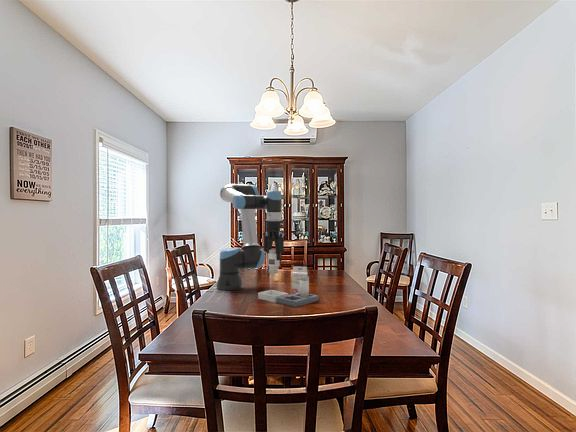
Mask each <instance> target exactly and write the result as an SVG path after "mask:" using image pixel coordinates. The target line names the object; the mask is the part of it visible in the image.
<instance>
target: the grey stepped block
mask: <svg viewBox="0 0 576 432" xmlns="http://www.w3.org/2000/svg"><path fill="white" fill-rule="evenodd" d="M308 275H309V273H308V266H294V265H293V268H292V273H291V294H295V293H299V292H300V276H308Z"/></svg>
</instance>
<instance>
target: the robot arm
mask: <svg viewBox="0 0 576 432" xmlns="http://www.w3.org/2000/svg"><path fill="white" fill-rule="evenodd" d="M219 195H220V198H221V199H222V200H223V201H224V202H227V203H231V204H232V206H233V208H234V209H236V210H240V216H241V217H240V219H241V229H242V240H243V241H242V243H243V245H242V246H241V248H240V247H229V248H225V249H221V251H220V252H219V259H218V260H219V276H218V279H217V283H216V289H217V290H220V291H236V290H241V289H242V288H243V281H242V278H241V276H240V270H256V269H260V268H262V267H263V265H264V263H265V259H267V266H268V267H269V250H270V249H272V248H273V242H274V247H275V249H276V253H275V267H278V268H279V267H280V263H281V261H280V260H281V254H282V253H284V252H285V250H284V248H285V235H286V234H285V232H283V233H282V232H281V228H282V222H281V220H282V192H281V191H280V190H267V192H266V195H260V193H259V190H258V186H256V185H254V184H249V183H248V184H247V183H246V184H245V183H242V184H241V183H228V184H226V185H224V186H223V187H222V188H220V192H219ZM255 210H263V211H265V210H266V220H267V221H266V231H265V232H263V234H262V235H263V249H262V248H261V245H260V244H259V243H258V233H257V224H256V213H255ZM265 256H266V258H265Z"/></svg>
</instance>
